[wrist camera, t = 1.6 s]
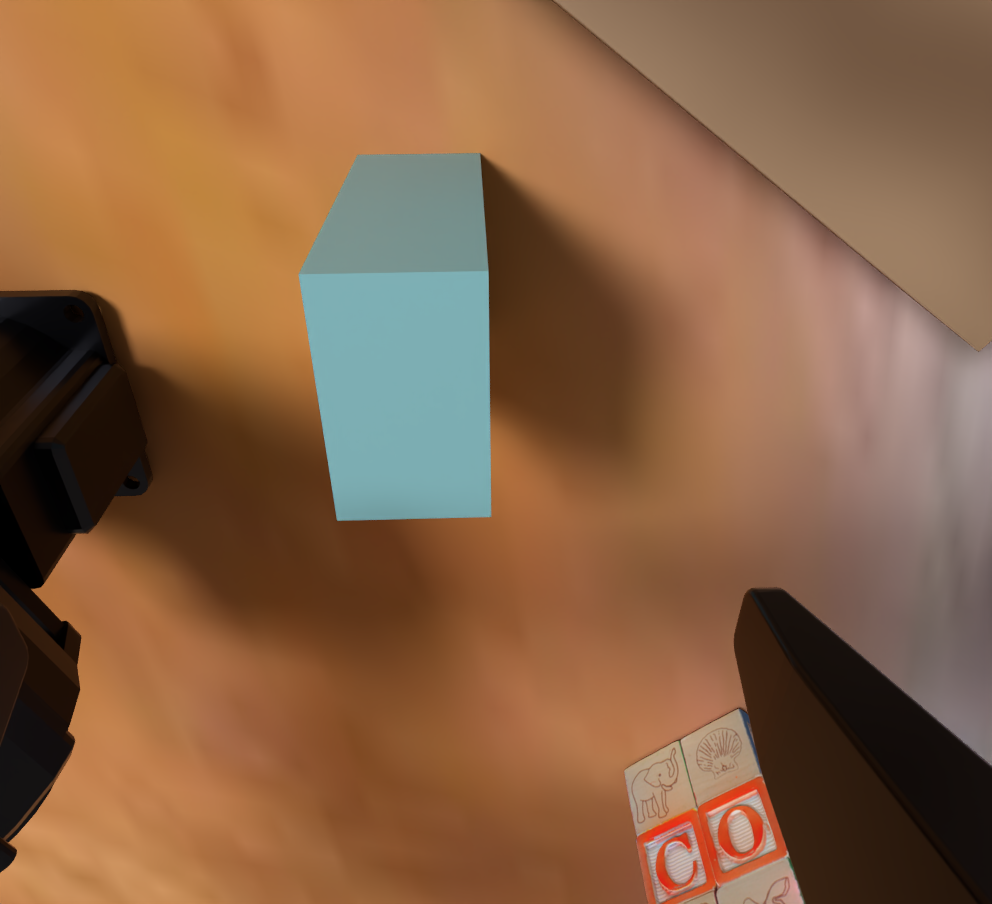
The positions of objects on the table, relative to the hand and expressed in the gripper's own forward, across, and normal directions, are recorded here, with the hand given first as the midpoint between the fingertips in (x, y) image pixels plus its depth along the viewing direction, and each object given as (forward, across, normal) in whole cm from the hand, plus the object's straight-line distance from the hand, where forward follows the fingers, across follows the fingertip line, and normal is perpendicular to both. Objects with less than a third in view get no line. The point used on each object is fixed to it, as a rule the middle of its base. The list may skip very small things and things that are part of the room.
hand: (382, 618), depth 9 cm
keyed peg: (+13, 0, 0) cm, 13 cm away
